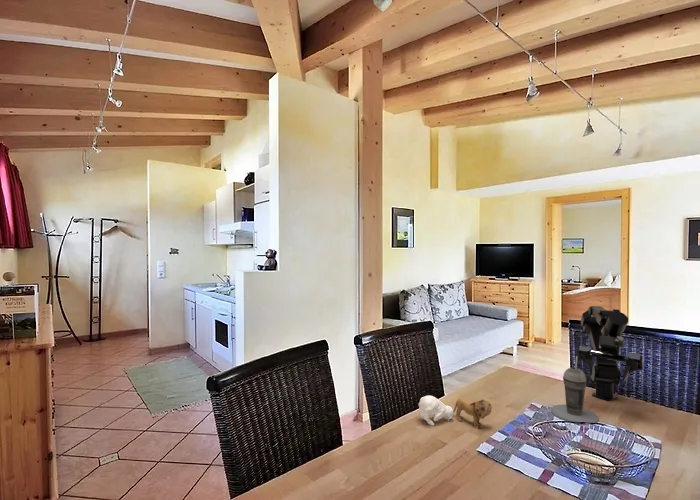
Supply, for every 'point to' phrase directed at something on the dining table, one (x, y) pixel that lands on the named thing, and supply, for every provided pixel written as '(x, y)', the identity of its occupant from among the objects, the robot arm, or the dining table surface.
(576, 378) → the beverage cup
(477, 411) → the lion figurine
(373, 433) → the dining table surface
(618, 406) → the dining table surface
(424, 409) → the white rounded figure
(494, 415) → the dining table surface
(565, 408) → the coaster
